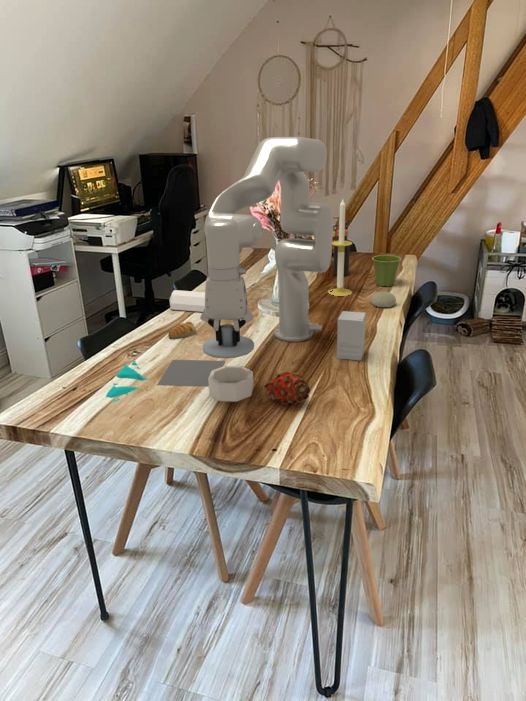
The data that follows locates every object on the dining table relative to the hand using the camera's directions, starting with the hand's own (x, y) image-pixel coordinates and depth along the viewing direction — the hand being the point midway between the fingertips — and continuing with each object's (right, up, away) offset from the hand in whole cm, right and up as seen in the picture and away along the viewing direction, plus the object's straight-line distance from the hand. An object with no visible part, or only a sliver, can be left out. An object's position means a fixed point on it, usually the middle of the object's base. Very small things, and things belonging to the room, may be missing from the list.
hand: (228, 343), depth 131 cm
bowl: (+1, -13, +6) cm, 14 cm away
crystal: (-16, +14, +67) cm, 70 cm away
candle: (+40, +21, +79) cm, 91 cm away
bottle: (+44, +32, +103) cm, 116 cm away
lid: (0, -1, 0) cm, 1 cm away
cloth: (-29, -12, +13) cm, 34 cm away
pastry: (-18, +3, +44) cm, 48 cm away
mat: (-11, -8, +16) cm, 22 cm away
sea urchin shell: (+54, +15, +65) cm, 86 cm away
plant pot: (+60, +26, +88) cm, 110 cm away
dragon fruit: (+15, -15, +1) cm, 21 cm away
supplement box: (+35, -3, +25) cm, 43 cm away
